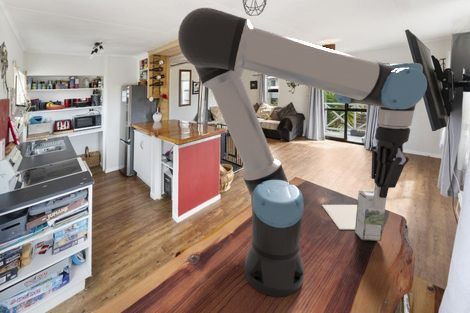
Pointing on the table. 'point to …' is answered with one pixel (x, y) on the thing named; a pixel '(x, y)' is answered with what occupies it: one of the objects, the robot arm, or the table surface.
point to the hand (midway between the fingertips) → (378, 205)
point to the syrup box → (369, 217)
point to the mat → (342, 215)
